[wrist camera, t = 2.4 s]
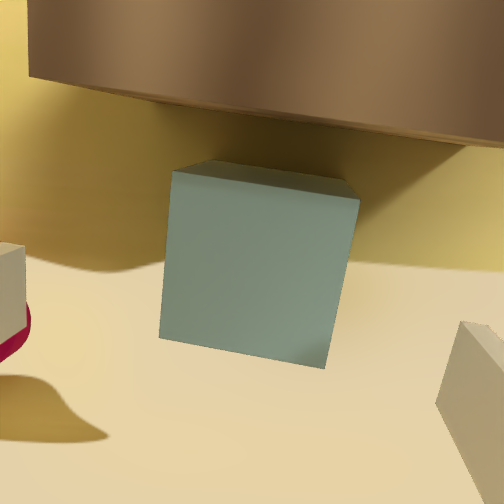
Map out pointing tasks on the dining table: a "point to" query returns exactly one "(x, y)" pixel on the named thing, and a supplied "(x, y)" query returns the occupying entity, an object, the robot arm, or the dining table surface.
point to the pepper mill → (15, 339)
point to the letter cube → (256, 260)
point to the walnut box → (290, 59)
